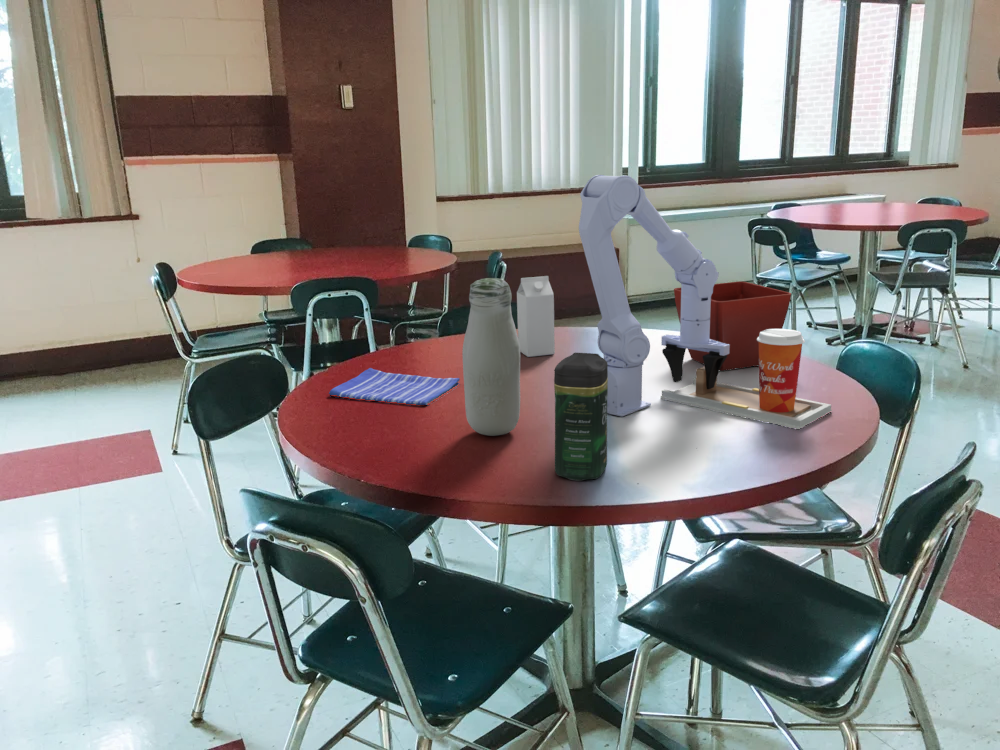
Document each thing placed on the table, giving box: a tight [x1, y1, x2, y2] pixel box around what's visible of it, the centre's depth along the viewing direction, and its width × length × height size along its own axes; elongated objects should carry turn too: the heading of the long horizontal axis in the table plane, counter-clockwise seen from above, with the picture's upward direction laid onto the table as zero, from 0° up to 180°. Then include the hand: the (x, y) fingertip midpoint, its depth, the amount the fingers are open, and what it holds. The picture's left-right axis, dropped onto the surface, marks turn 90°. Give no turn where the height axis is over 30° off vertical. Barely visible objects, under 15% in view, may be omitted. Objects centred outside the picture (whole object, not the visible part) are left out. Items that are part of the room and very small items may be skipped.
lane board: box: [660, 377, 833, 430], centre depth 156 cm, size 13×29×2 cm, turn 44°
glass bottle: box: [462, 277, 521, 437], centre depth 142 cm, size 10×10×28 cm
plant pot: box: [673, 281, 792, 372], centre depth 185 cm, size 19×19×17 cm
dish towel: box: [328, 367, 460, 406], centre depth 174 cm, size 17×24×3 cm
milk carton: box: [516, 275, 556, 358], centre depth 199 cm, size 7×7×19 cm
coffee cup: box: [757, 328, 806, 412], centre depth 149 cm, size 8×8×15 cm
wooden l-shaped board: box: [689, 365, 811, 417], centre depth 155 cm, size 9×21×6 cm, turn 44°
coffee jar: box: [553, 352, 608, 482], centre depth 125 cm, size 10×8×19 cm
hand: (693, 384), depth 164 cm, fingers open, 7 cm apart
